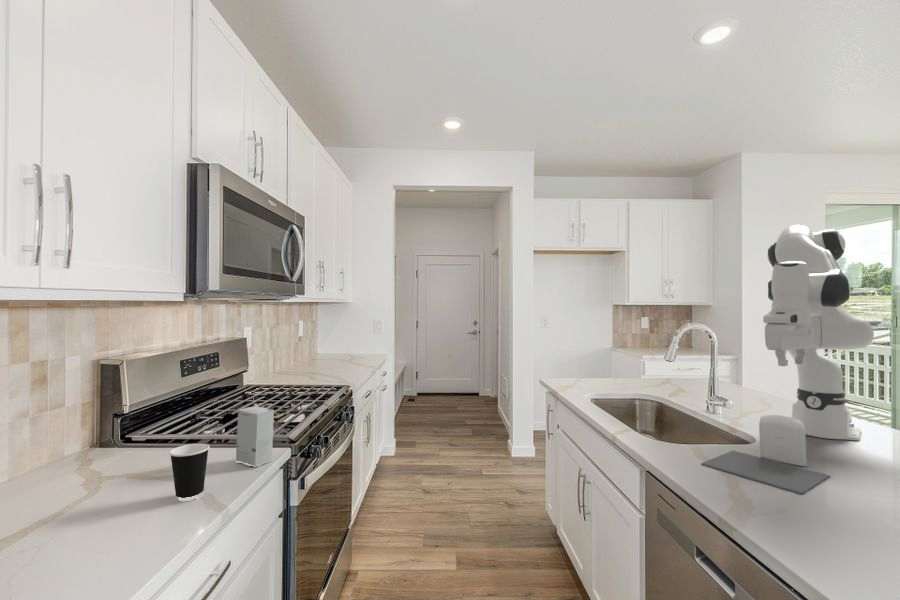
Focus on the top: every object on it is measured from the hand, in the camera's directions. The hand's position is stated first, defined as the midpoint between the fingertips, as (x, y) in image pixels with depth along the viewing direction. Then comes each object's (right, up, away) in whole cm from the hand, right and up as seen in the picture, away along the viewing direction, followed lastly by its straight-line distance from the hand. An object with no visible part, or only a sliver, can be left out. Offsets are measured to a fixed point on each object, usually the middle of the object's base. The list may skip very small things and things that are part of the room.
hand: (791, 365), depth 123 cm
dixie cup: (-158, -27, -25) cm, 162 cm away
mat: (-17, -26, -12) cm, 33 cm away
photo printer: (-7, -26, -6) cm, 27 cm away
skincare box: (-153, -27, -4) cm, 155 cm away
